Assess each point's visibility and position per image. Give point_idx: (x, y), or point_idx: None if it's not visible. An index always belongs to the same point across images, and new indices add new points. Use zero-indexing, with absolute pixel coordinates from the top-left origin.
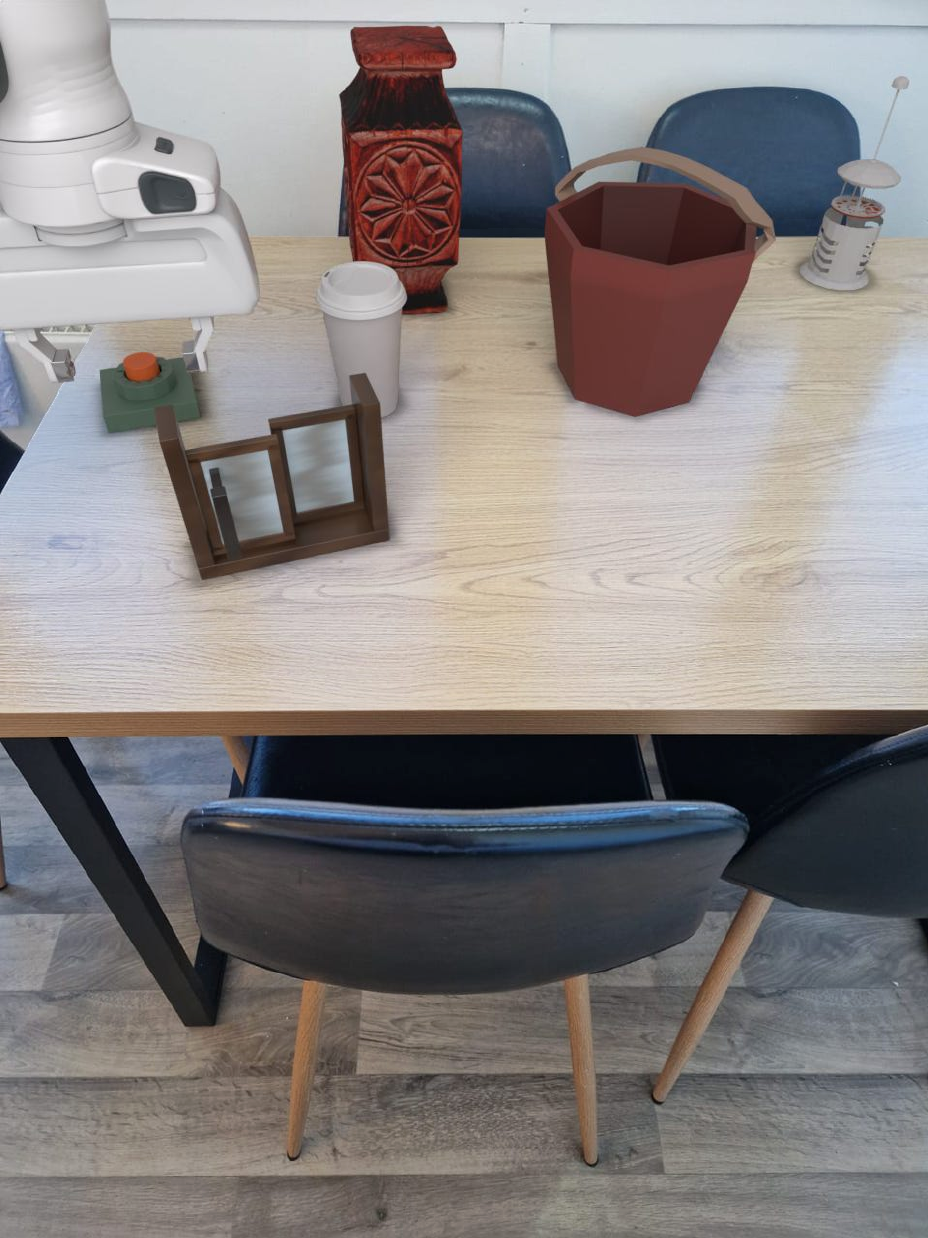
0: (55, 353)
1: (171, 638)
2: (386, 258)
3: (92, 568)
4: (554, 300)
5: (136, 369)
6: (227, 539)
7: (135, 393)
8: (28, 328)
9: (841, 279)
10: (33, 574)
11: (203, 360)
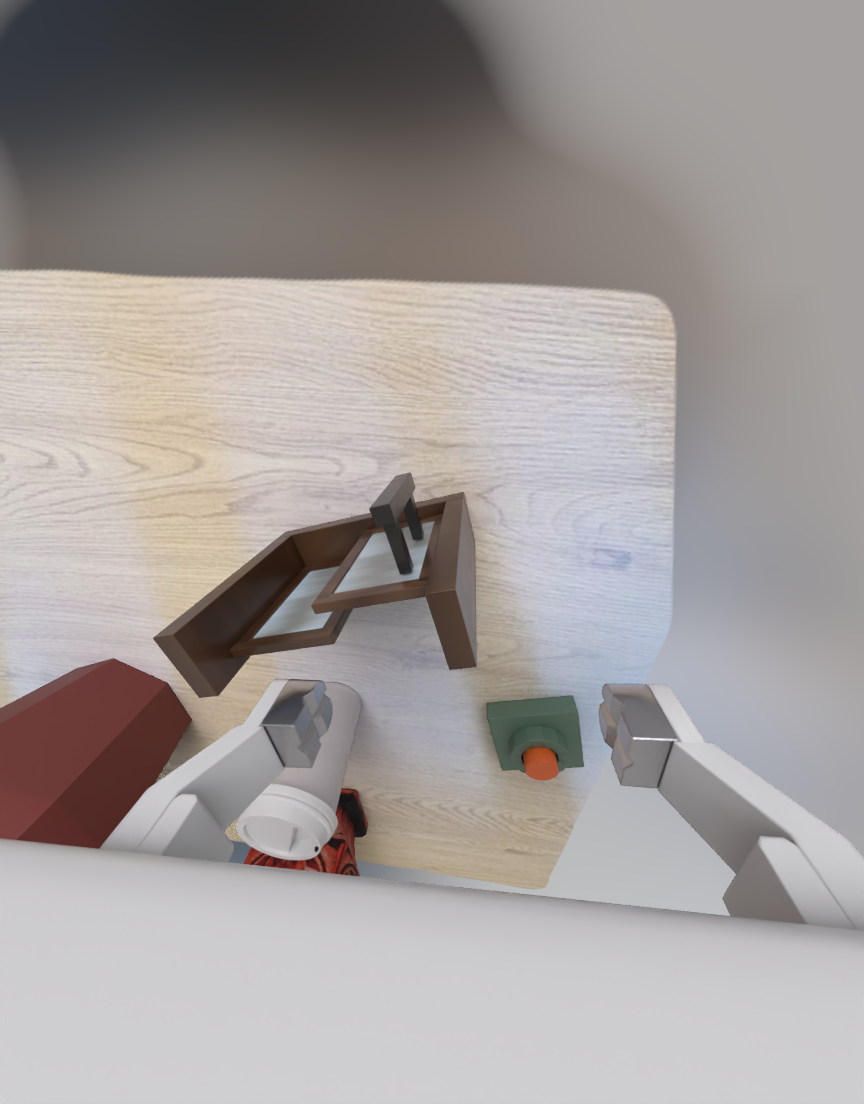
0: (661, 774)
1: (488, 404)
2: None
3: (582, 519)
4: (143, 781)
5: (544, 760)
6: (399, 481)
7: (546, 733)
8: (848, 930)
9: None
10: (647, 515)
11: (259, 702)
